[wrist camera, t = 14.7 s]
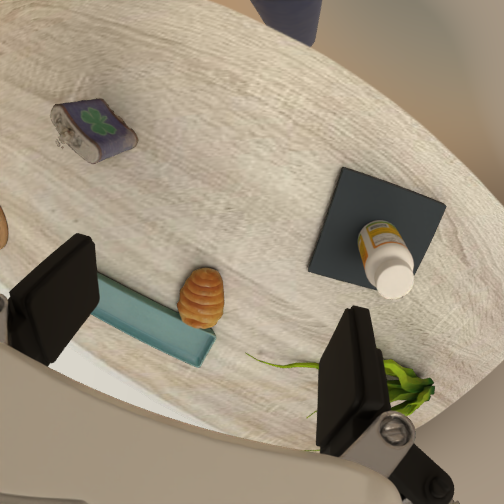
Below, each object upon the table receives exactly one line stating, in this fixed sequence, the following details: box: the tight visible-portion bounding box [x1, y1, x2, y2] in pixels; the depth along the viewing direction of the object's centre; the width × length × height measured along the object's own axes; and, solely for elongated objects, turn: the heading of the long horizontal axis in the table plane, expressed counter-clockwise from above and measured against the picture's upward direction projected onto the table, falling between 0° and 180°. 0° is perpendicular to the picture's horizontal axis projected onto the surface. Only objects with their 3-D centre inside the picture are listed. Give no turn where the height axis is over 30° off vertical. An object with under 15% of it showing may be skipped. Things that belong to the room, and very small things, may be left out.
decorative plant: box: [246, 353, 435, 451], centre depth 43 cm, size 18×30×15 cm, turn 50°
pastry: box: [177, 268, 224, 329], centre depth 45 cm, size 9×7×4 cm
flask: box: [50, 98, 138, 164], centre depth 32 cm, size 9×3×11 cm, turn 42°
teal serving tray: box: [91, 272, 216, 368], centre depth 50 cm, size 26×9×2 cm, turn 66°
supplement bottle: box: [358, 220, 414, 299], centre depth 33 cm, size 5×5×10 cm
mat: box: [308, 167, 446, 290], centre depth 38 cm, size 14×14×1 cm
